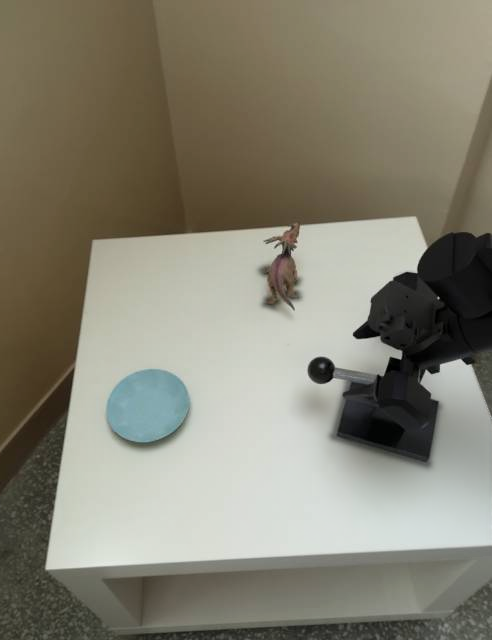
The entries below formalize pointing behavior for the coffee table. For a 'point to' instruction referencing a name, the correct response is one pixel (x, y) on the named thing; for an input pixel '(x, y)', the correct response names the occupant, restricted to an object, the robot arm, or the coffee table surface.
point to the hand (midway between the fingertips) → (349, 365)
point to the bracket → (386, 425)
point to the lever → (335, 372)
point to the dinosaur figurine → (283, 266)
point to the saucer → (147, 405)
